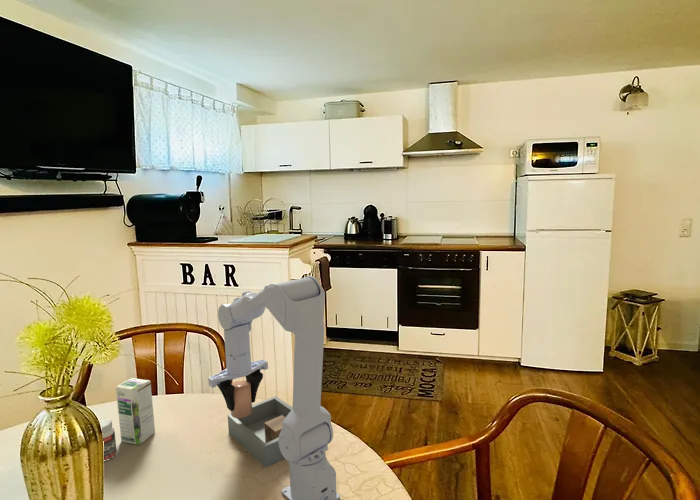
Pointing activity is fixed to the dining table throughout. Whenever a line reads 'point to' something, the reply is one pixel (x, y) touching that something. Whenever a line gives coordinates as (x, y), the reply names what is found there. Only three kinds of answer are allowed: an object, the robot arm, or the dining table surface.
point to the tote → (259, 430)
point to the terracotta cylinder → (242, 399)
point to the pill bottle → (108, 438)
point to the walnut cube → (273, 428)
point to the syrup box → (135, 410)
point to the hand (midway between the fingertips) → (241, 404)
